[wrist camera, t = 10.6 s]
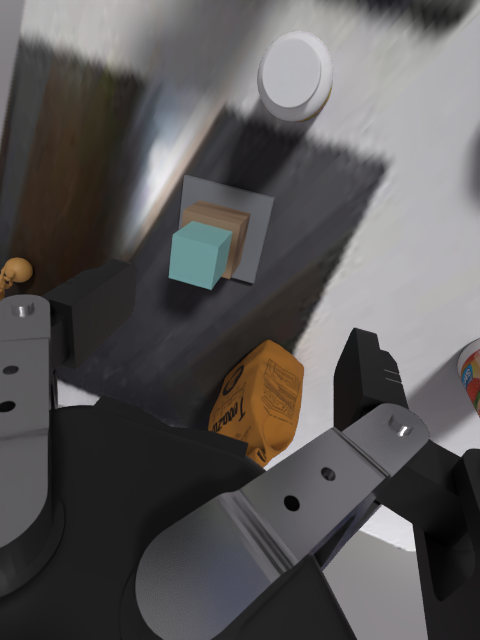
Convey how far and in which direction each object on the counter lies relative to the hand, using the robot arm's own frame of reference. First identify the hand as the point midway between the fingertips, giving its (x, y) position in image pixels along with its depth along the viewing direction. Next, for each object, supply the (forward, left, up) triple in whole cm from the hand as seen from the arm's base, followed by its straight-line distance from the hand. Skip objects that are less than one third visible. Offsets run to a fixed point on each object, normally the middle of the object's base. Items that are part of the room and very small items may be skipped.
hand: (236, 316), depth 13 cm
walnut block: (+9, -9, -35) cm, 37 cm away
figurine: (+24, -40, -36) cm, 59 cm away
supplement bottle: (-9, -3, -36) cm, 38 cm away
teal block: (+9, -9, -29) cm, 32 cm away
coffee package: (+30, +2, -36) cm, 47 cm away
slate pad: (+9, -9, -36) cm, 38 cm away
